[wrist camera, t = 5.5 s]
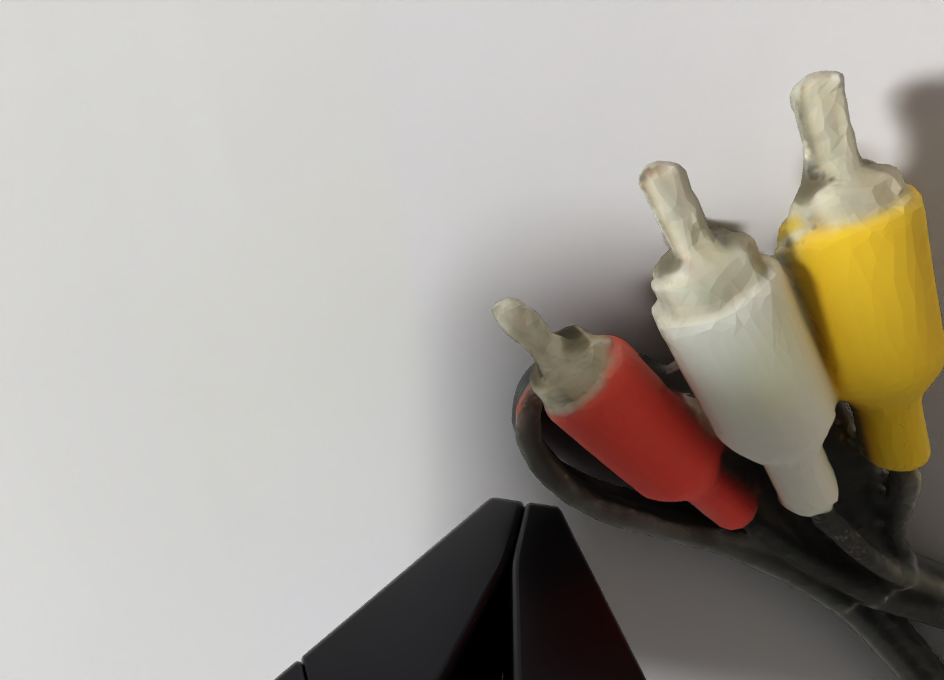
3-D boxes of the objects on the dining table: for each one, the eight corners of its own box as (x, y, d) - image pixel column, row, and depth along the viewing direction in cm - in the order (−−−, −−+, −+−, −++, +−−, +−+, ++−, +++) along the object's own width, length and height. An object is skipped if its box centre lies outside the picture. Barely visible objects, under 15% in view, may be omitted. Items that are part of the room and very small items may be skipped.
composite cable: (1188, 698, 8) (1405, 929, 6) (825, 797, 10) (887, 1003, 8) (773, 43, 7) (857, 19, 4) (428, 301, 8) (360, 380, 6)
